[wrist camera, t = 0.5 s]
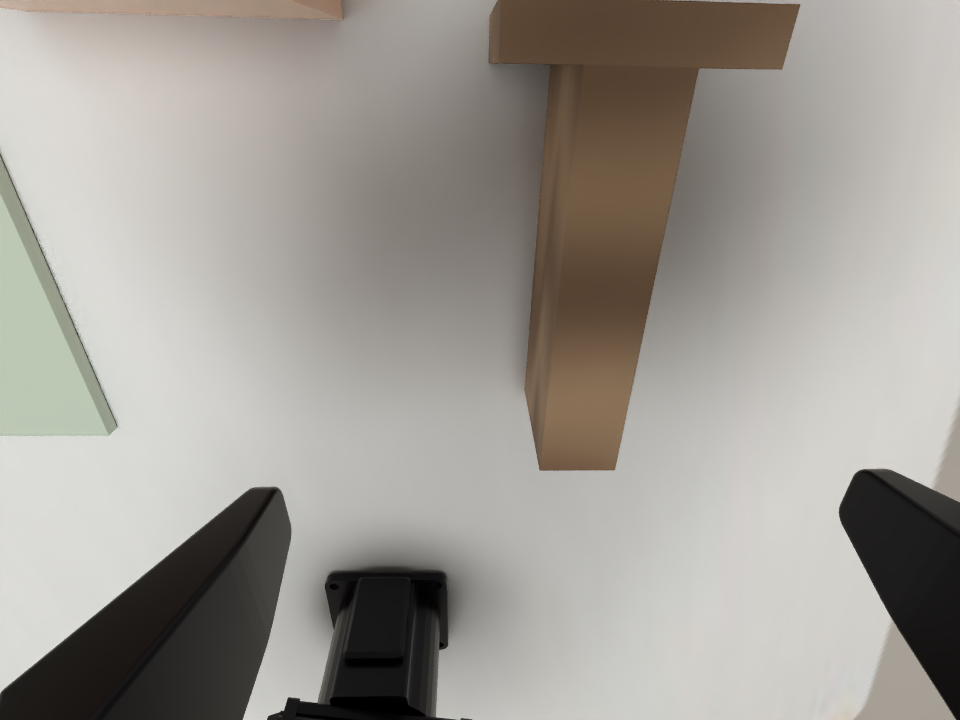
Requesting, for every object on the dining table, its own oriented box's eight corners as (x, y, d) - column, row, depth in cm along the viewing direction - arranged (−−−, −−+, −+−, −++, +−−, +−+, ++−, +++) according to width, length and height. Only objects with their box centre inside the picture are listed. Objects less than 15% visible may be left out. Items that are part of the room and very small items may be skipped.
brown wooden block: (628, 389, 22) (669, 470, 17) (480, 389, 21) (484, 470, 17) (703, 21, 15) (800, 4, 11) (489, 16, 15) (500, -5, 10)
